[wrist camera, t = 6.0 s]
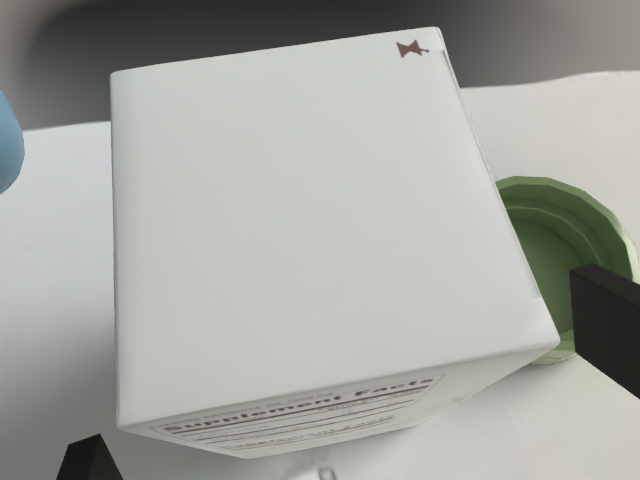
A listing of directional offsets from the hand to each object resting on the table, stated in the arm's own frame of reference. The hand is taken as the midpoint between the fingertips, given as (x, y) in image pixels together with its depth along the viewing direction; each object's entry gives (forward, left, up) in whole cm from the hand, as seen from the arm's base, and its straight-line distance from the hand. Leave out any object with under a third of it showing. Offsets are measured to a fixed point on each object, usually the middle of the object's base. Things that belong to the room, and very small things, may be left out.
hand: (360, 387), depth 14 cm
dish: (+12, +4, -13) cm, 18 cm away
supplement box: (0, +4, -13) cm, 14 cm away
